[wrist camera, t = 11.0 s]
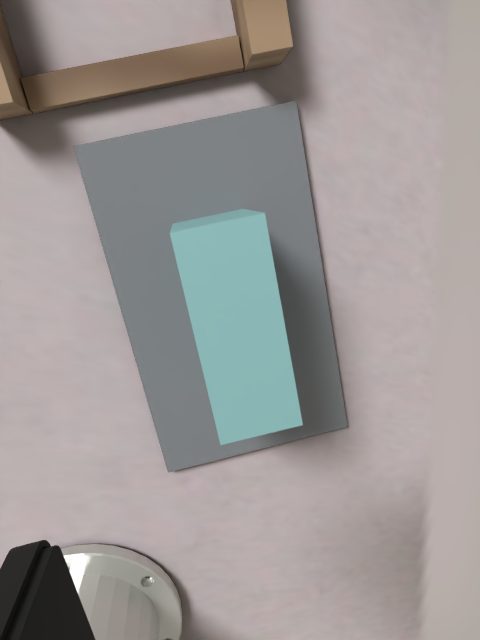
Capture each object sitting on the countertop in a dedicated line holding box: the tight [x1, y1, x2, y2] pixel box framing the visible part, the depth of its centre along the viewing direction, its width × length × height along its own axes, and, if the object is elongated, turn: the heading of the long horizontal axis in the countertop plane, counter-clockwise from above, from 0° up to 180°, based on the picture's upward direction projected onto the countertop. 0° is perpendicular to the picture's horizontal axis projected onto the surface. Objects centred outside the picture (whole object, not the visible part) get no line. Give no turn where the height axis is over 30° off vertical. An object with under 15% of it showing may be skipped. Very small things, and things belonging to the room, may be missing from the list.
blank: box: [170, 209, 303, 445], centre depth 24 cm, size 4×10×7 cm, turn 11°
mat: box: [73, 101, 348, 472], centre depth 27 cm, size 20×12×1 cm, turn 12°
